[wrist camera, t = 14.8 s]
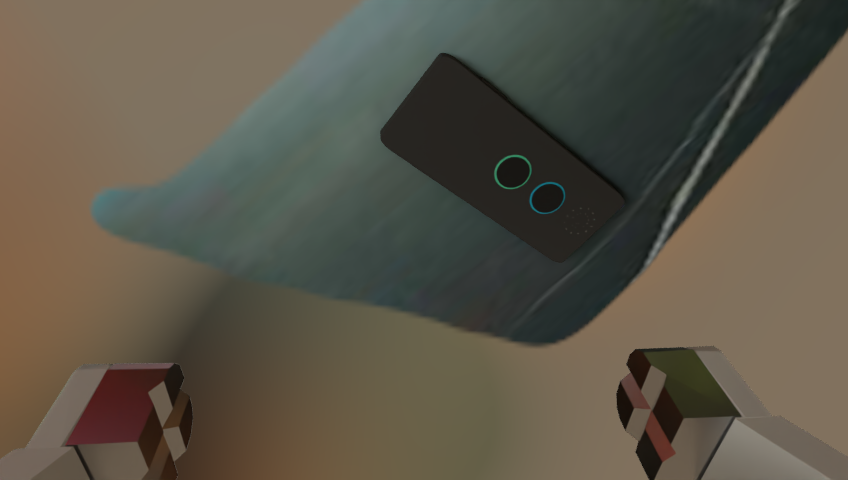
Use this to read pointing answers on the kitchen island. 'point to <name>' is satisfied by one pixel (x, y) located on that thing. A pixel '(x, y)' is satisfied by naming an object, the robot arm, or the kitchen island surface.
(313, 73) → the kitchen island surface
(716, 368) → the robot arm
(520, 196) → the smart home device
